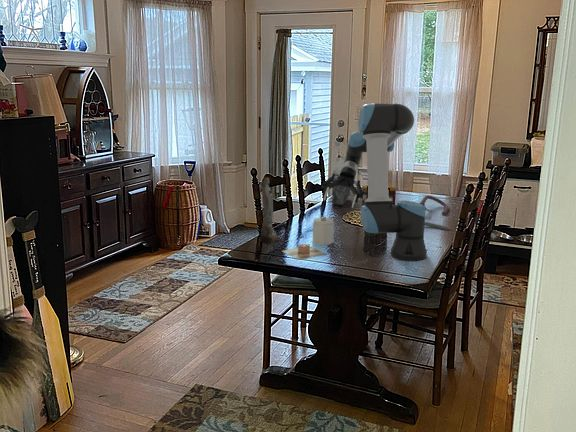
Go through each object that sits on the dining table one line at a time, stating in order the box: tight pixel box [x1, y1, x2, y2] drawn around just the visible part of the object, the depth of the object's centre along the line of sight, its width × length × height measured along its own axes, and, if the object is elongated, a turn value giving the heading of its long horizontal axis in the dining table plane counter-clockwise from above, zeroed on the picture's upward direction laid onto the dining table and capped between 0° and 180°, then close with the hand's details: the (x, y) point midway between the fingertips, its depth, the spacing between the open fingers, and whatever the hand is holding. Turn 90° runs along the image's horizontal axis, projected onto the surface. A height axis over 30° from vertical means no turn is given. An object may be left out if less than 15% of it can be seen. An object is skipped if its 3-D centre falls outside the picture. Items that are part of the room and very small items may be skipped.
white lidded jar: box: [312, 216, 335, 246], centre depth 249 cm, size 9×9×12 cm
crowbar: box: [424, 221, 451, 231], centre depth 285 cm, size 40×2×5 cm, turn 58°
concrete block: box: [331, 166, 351, 206], centre depth 329 cm, size 27×9×20 cm, turn 164°
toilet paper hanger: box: [418, 194, 449, 216], centre depth 312 cm, size 28×7×17 cm
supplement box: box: [361, 184, 397, 207], centre depth 304 cm, size 10×15×16 cm
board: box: [281, 246, 327, 261], centre depth 235 cm, size 14×14×1 cm
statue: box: [259, 177, 279, 244], centre depth 252 cm, size 8×7×30 cm
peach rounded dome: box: [297, 243, 311, 254], centre depth 235 cm, size 5×5×3 cm
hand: (338, 202), depth 257 cm, fingers open, 13 cm apart
